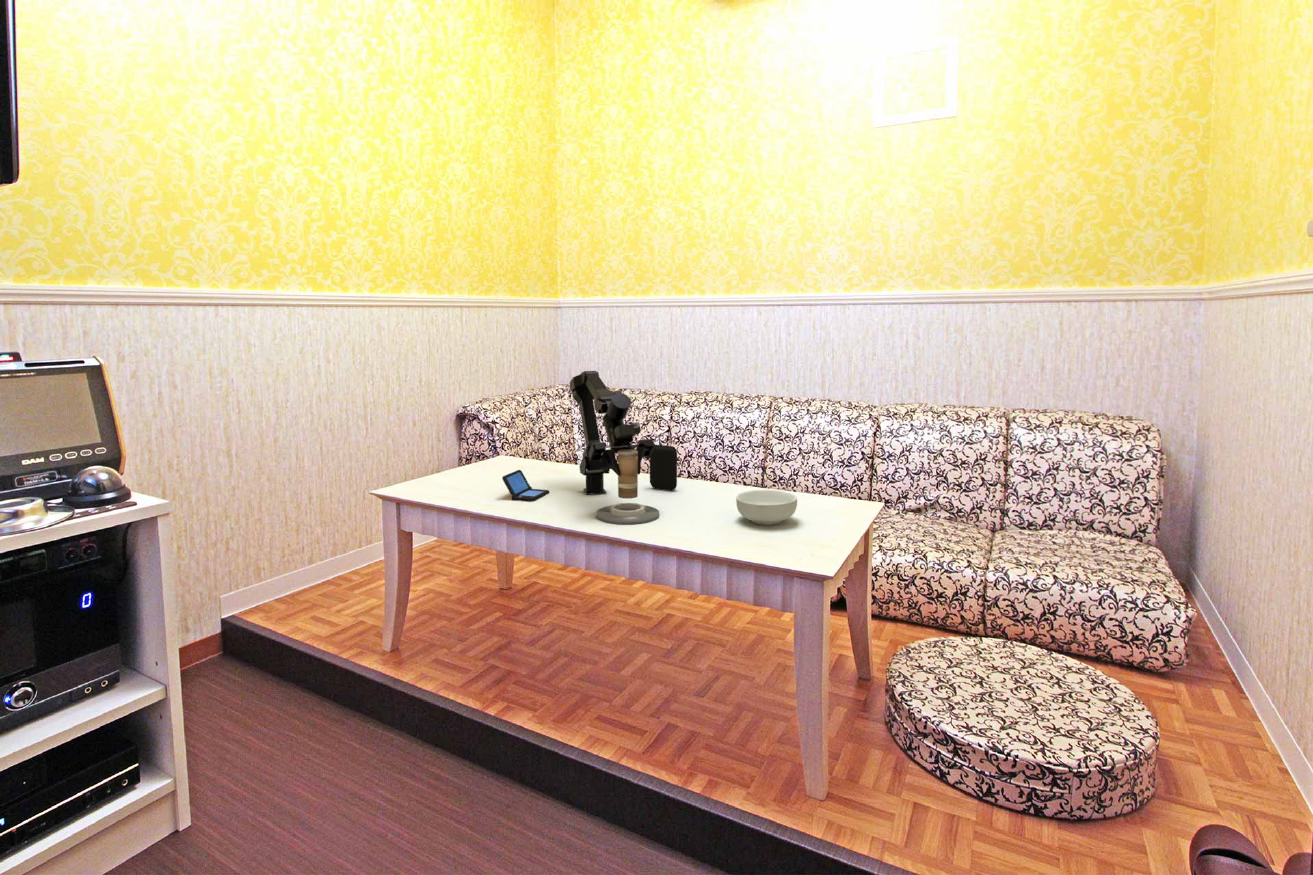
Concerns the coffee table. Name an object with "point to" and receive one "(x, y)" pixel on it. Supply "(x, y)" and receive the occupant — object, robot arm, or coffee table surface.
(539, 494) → the handheld game console
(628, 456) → the brown cylindrical container
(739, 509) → the cereal bowl
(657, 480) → the black rounded block
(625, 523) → the round tray
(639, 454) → the robot arm
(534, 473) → the coffee table surface
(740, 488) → the coffee table surface
